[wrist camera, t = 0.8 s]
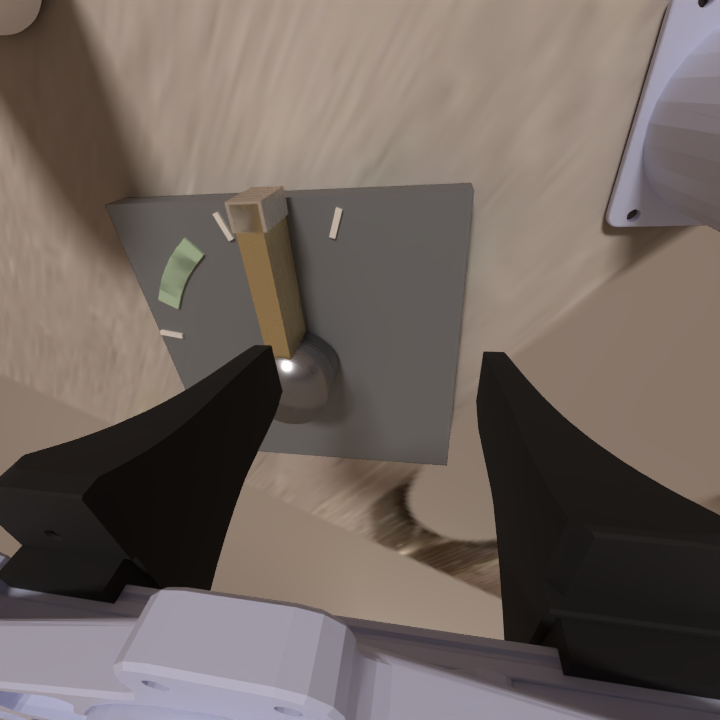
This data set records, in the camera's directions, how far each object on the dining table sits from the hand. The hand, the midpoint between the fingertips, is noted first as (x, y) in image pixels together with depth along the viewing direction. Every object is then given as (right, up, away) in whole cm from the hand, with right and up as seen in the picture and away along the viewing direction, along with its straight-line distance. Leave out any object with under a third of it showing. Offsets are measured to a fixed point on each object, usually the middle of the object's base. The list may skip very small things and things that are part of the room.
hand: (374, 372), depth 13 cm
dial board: (-4, +1, +11) cm, 12 cm away
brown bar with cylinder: (-4, +3, +8) cm, 9 cm away
